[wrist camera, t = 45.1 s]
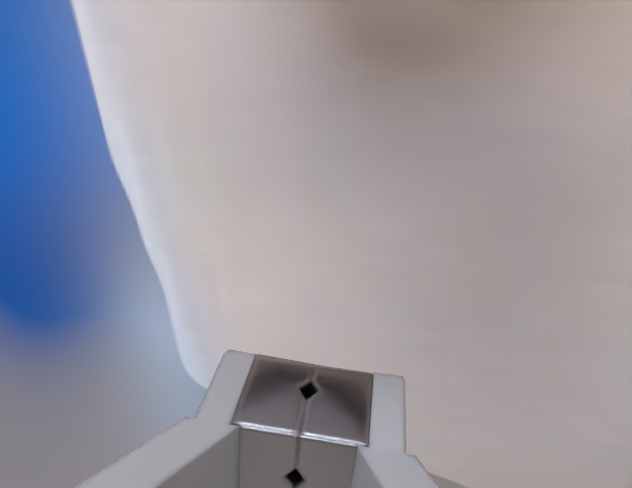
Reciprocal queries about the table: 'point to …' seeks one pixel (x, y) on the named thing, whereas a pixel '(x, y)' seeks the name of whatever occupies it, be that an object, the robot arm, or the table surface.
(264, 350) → the table surface
